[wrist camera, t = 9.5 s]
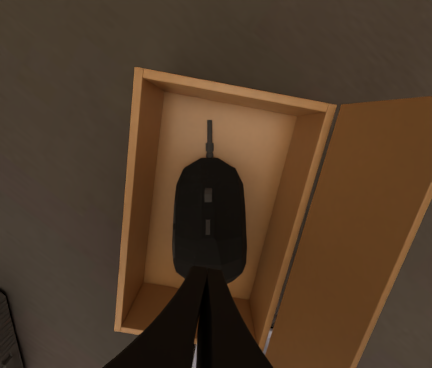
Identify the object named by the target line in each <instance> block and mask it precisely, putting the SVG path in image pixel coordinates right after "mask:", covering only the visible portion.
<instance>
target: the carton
mask: <svg viewBox="0 0 432 368" xmlns="http://www.w3.org/2000/svg"><path fill="white" fill-rule="evenodd" d="M336 107H337V105H335V104H328V103H324V102H319V101H314V100H308V99H303V98H298V97H292V96H287V95H282V94H277V93H271V92H266V91H261V90H255V89H250V88H245V87H240V86H234V85H229V84H224V83H219V82H213V81H208V80H203V79H197V78H192V77H187V76H182V75H176V74H171V73H166V72H160V71H155V70H150V69H143V68H139V67H135V69H134V82H133V95H132V108H131V121H130V134H129V147H128V160H127V173H126V185H125V198H124V211H123V224H122V237H121V250H120V263H119V276H118V289H117V302H116V314H115V327H114V331H118V332H124V333H130V334H137V335H140V334H141V333H142V332H143V331H144V330H145V329H146V328H147V327H148V326H149V325H150V324H151V323H152V322H153V320H154V319H155V318H156V317H157V316H158V315H159V314H160V313H161V311H162V310H163V309H164V308H165V306H166V305H167V304H168V303H169V301H170V300H171V299H172V298H173V296H174V295H175V293H176V292H177V291H178V289H179V288H180V286H181V285H182V283H183V282H184V280H185V279H184V278H183V277H182V276H181V275H179V274H178V273H177V272H176V270H175V267H174V263H173V252H172V234H173V213H174V200H175V191H176V184H177V182H178V180H179V177H180V175H181V173H182V171H183V169H184V168H185V167H186V166H188V165H190V164H192V163H193V162H195V161H197V160H198V159H200V158H207V157H206V153H207V151H206V143H207V120H212V143H214V151H213V158H219V159H221V160H222V161H224V162H225V163H227V164H228V165H230V166H232V167H234V168H236V170H237V172H238V174H239V176H240V179H241V181H242V183H243V187H244V198H245V213H246V235H247V258H246V265H245V268H244V270H243V273H242V274H241V275H240V276H238V277H237V278H236V279H235V280H234V281H232V282H230V283H228V284H227V285H228V288H229V290H230V293H231V295H232V297H233V300H234V302H235V304H236V306H237V308H238V310H239V312H240V314H241V316H242V318H243V320H244V322H245V324H246V325H247V327H248V329H249V331H250V333H251V334H252V336H253V338H254V339H255V341H256V342H257V344H258V346H259V347H260V349H261V350H262V352H263V351H264V347H265V344H266V341H267V337H268V334H269V331H270V327H271V324H272V321H273V317H274V314H275V311H276V307H277V304H278V301H279V297H280V294H281V291H282V287H283V284H284V281H285V277H286V274H287V271H288V267H289V264H290V261H291V257H292V254H293V251H294V247H295V244H296V240H297V237H298V234H299V230H300V227H301V224H302V220H303V217H304V214H305V210H306V207H307V204H308V200H309V197H310V194H311V190H312V187H313V184H314V180H315V177H316V174H317V170H318V167H319V164H320V160H321V157H322V154H323V150H324V147H325V144H326V140H327V137H328V134H329V130H330V127H331V124H332V120H333V117H334V114H335V110H336ZM198 321H199V319H198ZM197 329H198V324H197ZM197 329H196V334H195V340H194V344H197Z"/></svg>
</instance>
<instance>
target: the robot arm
mask: <svg viewBox="0 0 432 368" xmlns="http://www.w3.org/2000/svg"><path fill="white" fill-rule="evenodd" d="M198 319H199V321H198ZM197 324H198V329H197ZM196 329H197V344H196V348H195V353H194V358H193V350H194V340H195V334H196ZM272 331H273V329H272V328H270V331H269V334H268V337H267V341H266V344H265V347H264V351H263V352H262V350H261V349H260V347H259V346H258V344H257V342H256V341H255V339H254V338H253V336H252V334H251V333H250V331H249V329H248V327H247V325H246V324H245V322H244V320H243V318H242V316H241V314H240V312H239V310H238V308H237V306H236V304H235V302H234V300H233V297H232V295H231V293H230V290H229V288H228V285H227V283H226V280H225V277H224V274H223V272H222V270H218V269H212V268H208V270H207V268H206V267H200V266H194V265H193V266H192V267H191V268H190V270H189V273H188V275H187V277H186V278H185V280H184V282H183V283H182V285H181V286H180V288H179V289H178V291H177V292H176V293H175V295H174V296H173V298H172V299H171V300H170V301H169V303H168V304H167V305H166V306H165V308H164V309H163V310H162V311H161V313H160V314H159V315H158V316H157V317H156V318H155V319H154V320H153V322H152V323H151V324H150V325H149V326H148V327H147V328H146V329H145V330H144V331H143V332H142V333H141V334H140V335H139V336H138V337H137V338H136V339H135V340H134V341H133V342H132V343H130V344H129V345H128V346H127V347H126V348H125V349H124V350H123V351H122V352H121V353H119V354H118V355H117V356H116V357H115V358H114V359H112V360H111V361H110V362H109V363H107V364H106V365H105V366H104V367H103V368H273V366H272V365H271V363H270V362H269V360H268V359H267V358H266V356H265V354H266V351H267V347H268V344H269V341H270V337H271V334H272ZM192 360H193V363H192Z"/></svg>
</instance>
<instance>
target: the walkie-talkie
mask: <svg viewBox="0 0 432 368" xmlns="http://www.w3.org/2000/svg"><path fill="white" fill-rule="evenodd" d="M0 368H23V364H22V360H21V356H20V352H19V348H18V344H17V341H16V337H15V333H14V329H13V325H12V321H11V317H10V312H9V308H8V304H7V300H6V296H5V295H4V294H2V293H1V292H0Z"/></svg>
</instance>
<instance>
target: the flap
mask: <svg viewBox="0 0 432 368" xmlns="http://www.w3.org/2000/svg"><path fill="white" fill-rule="evenodd" d="M431 199H432V96H428V97H417V98H406V99H395V100H384V101H373V102H362V103H351V104H342V105H341V107H340V111H339V114H338V117H337V120H336V124H335V127H334V130H333V134H332V137H331V140H330V143H329V147H328V150H327V153H326V157H325V160H324V163H323V166H322V170H321V173H320V176H319V180H318V183H317V186H316V189H315V193H314V196H313V199H312V203H311V206H310V209H309V213H308V216H307V219H306V222H305V226H304V229H303V232H302V236H301V239H300V242H299V245H298V249H297V252H296V255H295V259H294V262H293V265H292V268H291V272H290V275H289V278H288V282H287V285H286V288H285V291H284V295H283V298H282V301H281V305H280V308H279V311H278V314H277V318H276V321H275V324H274V328H273V331H272V334H271V337H270V341H269V344H268V347H267V351H266V354H265V356H266V358H267V359H268V360H269V362H270V363H271V365H272V366H273V368H356V366H357V364H358V362H359V360H360V358H361V355H362V353H363V351H364V349H365V346H366V344H367V342H368V340H369V337H370V335H371V333H372V331H373V328H374V326H375V324H376V322H377V319H378V317H379V315H380V313H381V311H382V308H383V306H384V304H385V302H386V299H387V297H388V295H389V293H390V290H391V288H392V286H393V284H394V281H395V279H396V277H397V275H398V273H399V270H400V268H401V266H402V264H403V261H404V259H405V257H406V255H407V252H408V250H409V248H410V246H411V243H412V241H413V239H414V237H415V235H416V232H417V230H418V228H419V226H420V223H421V221H422V219H423V217H424V214H425V212H426V210H427V208H428V205H429V203H430V201H431Z"/></svg>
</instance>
